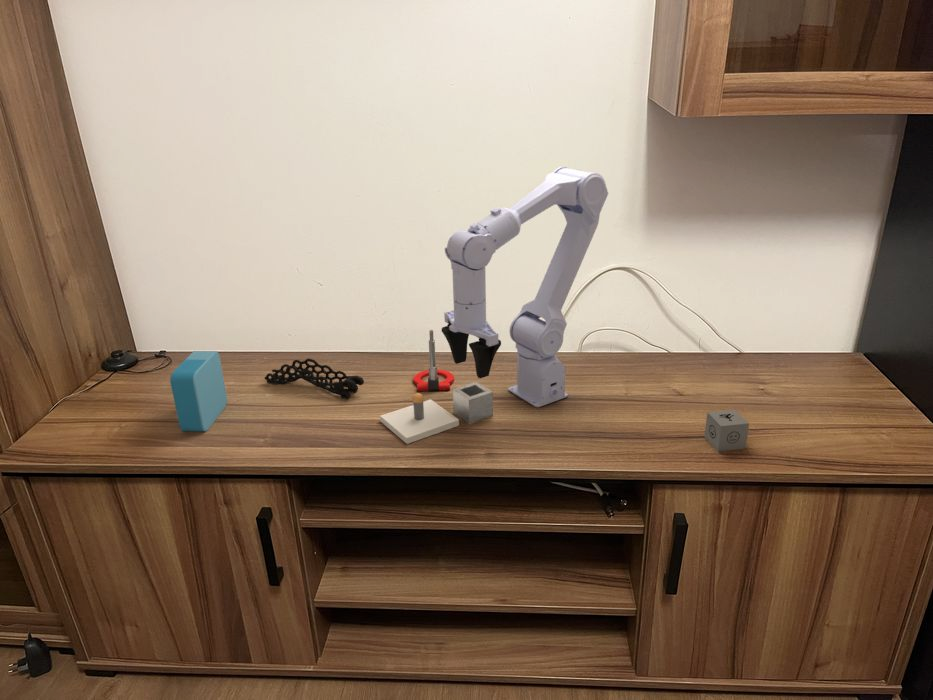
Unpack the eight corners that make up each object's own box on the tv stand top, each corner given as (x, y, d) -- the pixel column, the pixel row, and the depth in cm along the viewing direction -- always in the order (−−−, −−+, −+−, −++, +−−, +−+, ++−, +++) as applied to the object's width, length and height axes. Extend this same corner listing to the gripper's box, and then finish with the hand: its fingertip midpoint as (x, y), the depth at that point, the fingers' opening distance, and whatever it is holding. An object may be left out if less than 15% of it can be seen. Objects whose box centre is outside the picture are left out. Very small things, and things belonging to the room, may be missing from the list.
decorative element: (262, 387, 149) (258, 361, 147) (276, 377, 153) (272, 352, 151) (357, 403, 142) (355, 377, 139) (370, 392, 146) (367, 366, 143)
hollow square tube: (493, 415, 135) (492, 391, 133) (469, 424, 132) (468, 400, 130) (476, 404, 139) (476, 381, 137) (453, 412, 136) (452, 389, 134)
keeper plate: (459, 425, 132) (458, 395, 130) (406, 444, 126) (404, 413, 124) (430, 404, 140) (429, 376, 137) (380, 421, 134) (378, 391, 132)
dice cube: (730, 434, 127) (734, 409, 125) (745, 448, 122) (749, 423, 120) (704, 437, 126) (707, 412, 124) (717, 451, 122) (721, 426, 120)
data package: (206, 403, 143) (195, 348, 138) (228, 403, 142) (218, 348, 137) (180, 434, 132) (168, 375, 127) (204, 434, 131) (193, 375, 126)
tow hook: (414, 375, 153) (412, 393, 145) (411, 317, 149) (409, 332, 140) (453, 373, 153) (454, 391, 145) (452, 316, 149) (452, 331, 140)
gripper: (429, 293, 130) (432, 361, 136) (473, 316, 119) (475, 389, 124) (461, 285, 134) (463, 352, 139) (508, 307, 122) (508, 378, 128)
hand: (471, 369), depth 132 cm, fingers open, 7 cm apart
